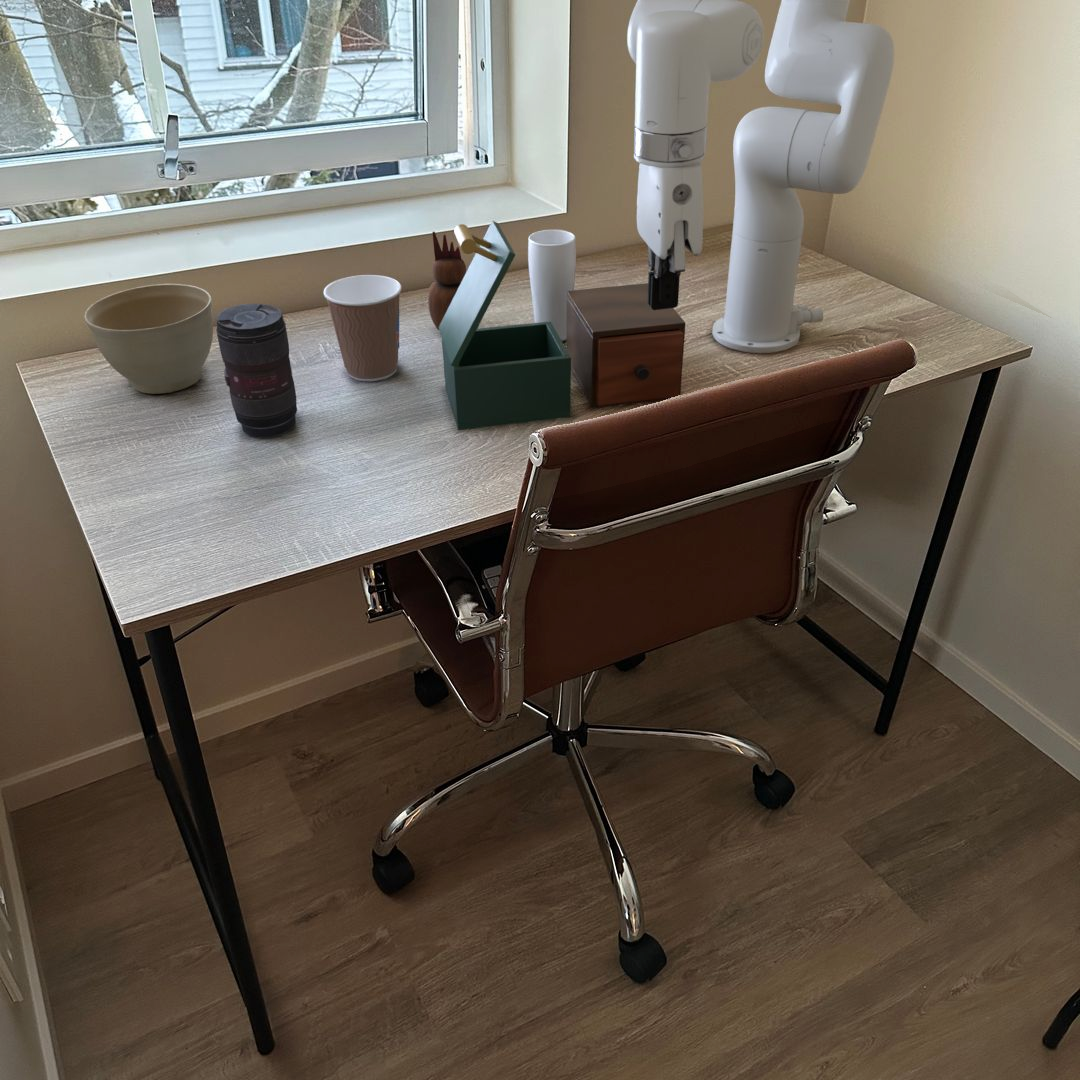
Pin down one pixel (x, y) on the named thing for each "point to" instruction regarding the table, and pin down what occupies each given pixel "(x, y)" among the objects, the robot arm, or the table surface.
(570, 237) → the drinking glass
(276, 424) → the camera lens
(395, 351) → the coffee cup
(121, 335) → the planter bowl
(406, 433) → the table surface
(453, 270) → the wooden figurine
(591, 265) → the table surface
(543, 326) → the chest
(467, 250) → the lid
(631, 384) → the drawer
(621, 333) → the cabinet
